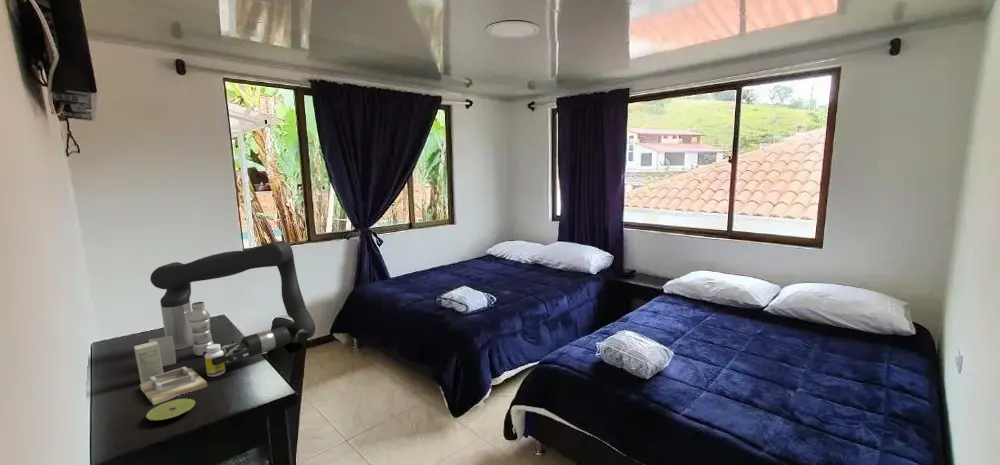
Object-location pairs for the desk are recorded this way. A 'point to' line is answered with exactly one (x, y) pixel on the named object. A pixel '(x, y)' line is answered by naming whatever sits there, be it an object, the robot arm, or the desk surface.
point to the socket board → (172, 384)
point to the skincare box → (148, 360)
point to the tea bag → (166, 350)
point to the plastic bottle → (200, 328)
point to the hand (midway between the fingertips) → (207, 358)
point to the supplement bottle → (211, 353)
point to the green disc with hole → (170, 409)
